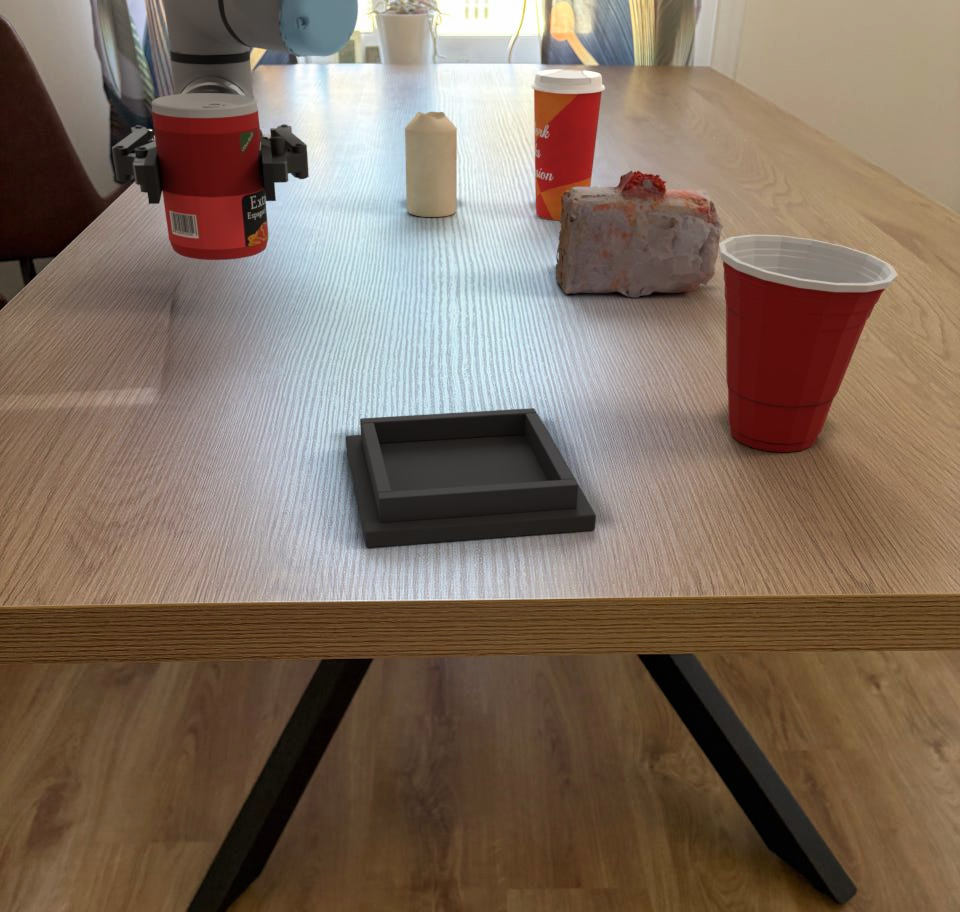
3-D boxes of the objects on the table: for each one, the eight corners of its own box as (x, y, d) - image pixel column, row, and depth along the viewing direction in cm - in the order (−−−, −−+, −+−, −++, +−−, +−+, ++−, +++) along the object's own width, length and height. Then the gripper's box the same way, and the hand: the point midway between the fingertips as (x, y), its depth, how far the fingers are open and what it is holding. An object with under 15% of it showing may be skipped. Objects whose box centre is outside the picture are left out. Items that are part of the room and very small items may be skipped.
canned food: (270, 260, 89) (257, 108, 83) (166, 262, 88) (146, 108, 81) (269, 235, 95) (257, 92, 89) (172, 237, 94) (154, 92, 88)
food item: (695, 274, 105) (709, 162, 100) (717, 300, 99) (733, 182, 93) (551, 275, 104) (557, 162, 99) (564, 302, 98) (571, 182, 92)
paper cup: (532, 203, 127) (538, 66, 119) (599, 208, 126) (609, 70, 118) (520, 220, 121) (525, 77, 113) (591, 225, 120) (601, 80, 112)
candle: (437, 220, 121) (437, 119, 115) (396, 212, 123) (394, 113, 117) (466, 210, 124) (466, 112, 119) (425, 203, 127) (424, 106, 121)
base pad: (366, 548, 61) (364, 507, 60) (346, 449, 72) (344, 413, 71) (595, 530, 63) (598, 490, 62) (543, 437, 74) (545, 401, 73)
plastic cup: (885, 468, 71) (930, 276, 64) (717, 472, 70) (745, 278, 63) (827, 402, 80) (862, 228, 73) (678, 404, 79) (699, 229, 72)
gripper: (330, 170, 106) (351, 231, 88) (104, 174, 103) (75, 239, 84) (326, 83, 102) (347, 127, 84) (89, 84, 99) (56, 131, 80)
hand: (210, 183), depth 84 cm, fingers closed on canned food, 8 cm apart
